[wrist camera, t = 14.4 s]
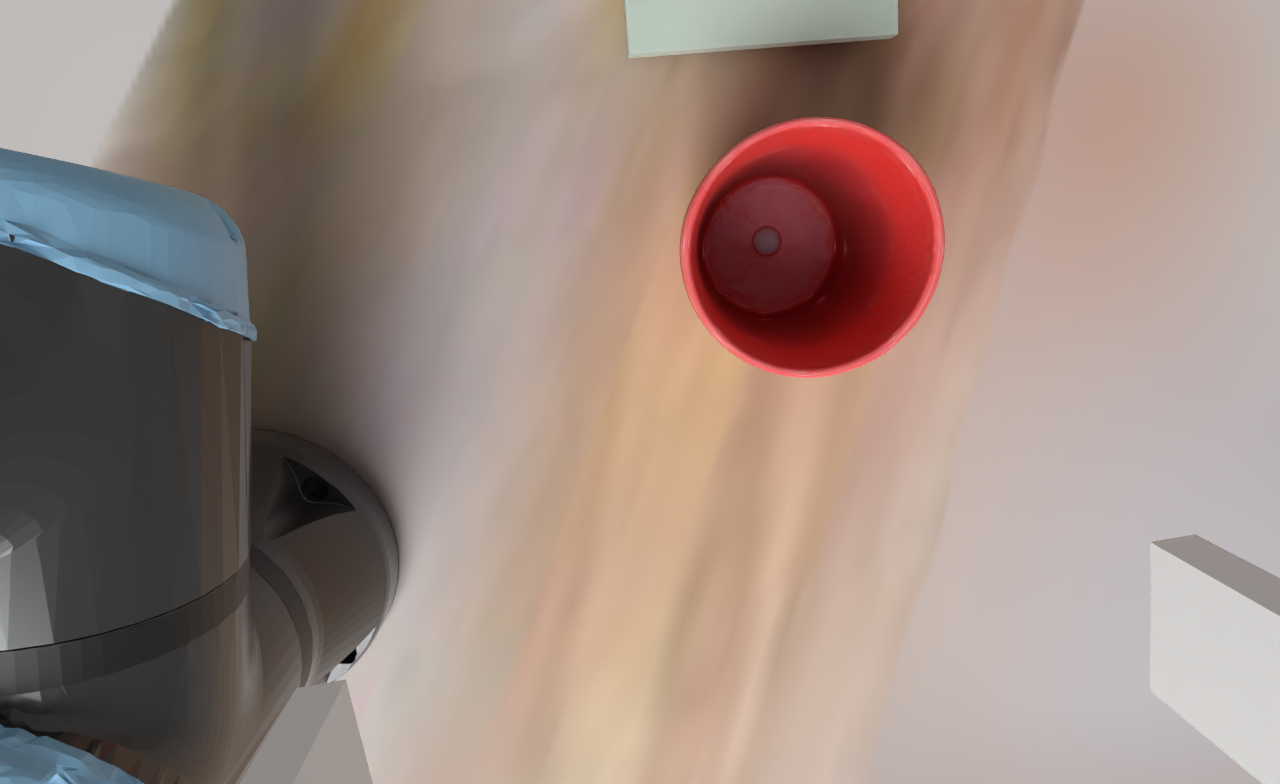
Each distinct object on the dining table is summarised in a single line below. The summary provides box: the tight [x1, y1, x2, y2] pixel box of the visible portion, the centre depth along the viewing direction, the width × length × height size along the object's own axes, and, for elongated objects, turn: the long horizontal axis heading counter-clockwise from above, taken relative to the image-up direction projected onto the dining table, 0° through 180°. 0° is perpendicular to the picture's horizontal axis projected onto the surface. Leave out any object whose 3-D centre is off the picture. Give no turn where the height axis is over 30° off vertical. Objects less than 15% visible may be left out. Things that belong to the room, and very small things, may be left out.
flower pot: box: [680, 117, 945, 378], centre depth 37 cm, size 11×11×10 cm
